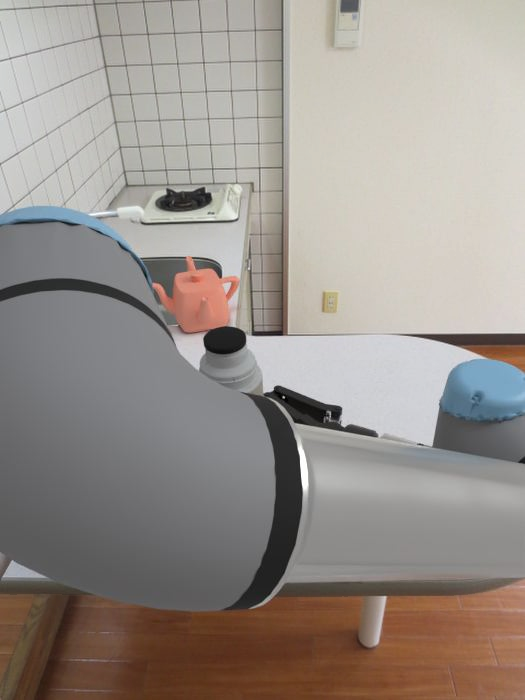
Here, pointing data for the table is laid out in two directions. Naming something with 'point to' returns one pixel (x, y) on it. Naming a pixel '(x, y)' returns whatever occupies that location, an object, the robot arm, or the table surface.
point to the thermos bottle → (231, 361)
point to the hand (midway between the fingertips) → (201, 411)
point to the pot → (198, 298)
